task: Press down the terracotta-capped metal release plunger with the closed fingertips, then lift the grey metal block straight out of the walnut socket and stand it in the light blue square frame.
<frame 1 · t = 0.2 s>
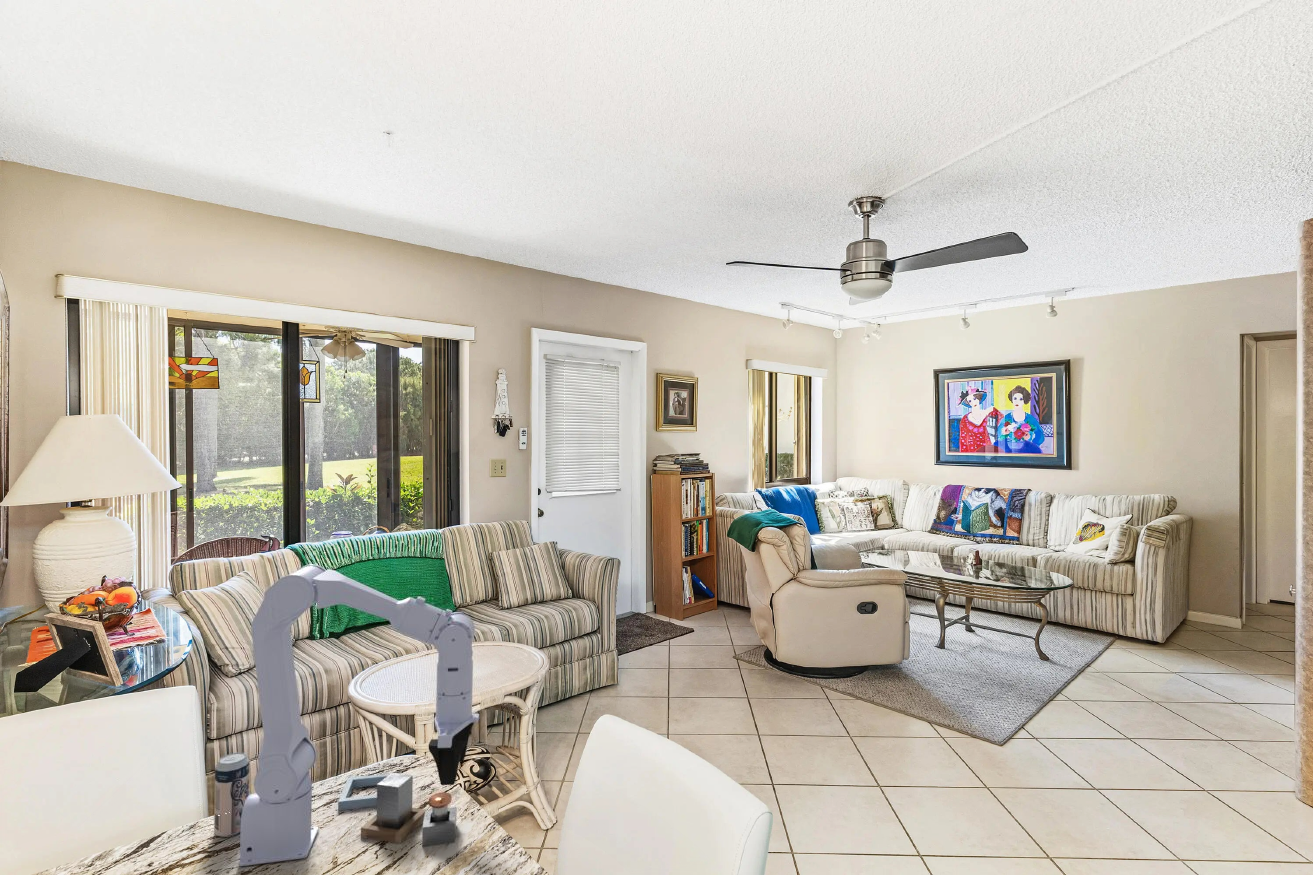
hand: (452, 772, 110), 10 cm above the table, fingers open, 7 cm apart
release plunger: (440, 808, 110), point 4 cm above the table, slide at 0.0 cm
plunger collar: (439, 835, 110), on the table
beer can: (231, 831, 110), on the table
walnut socket: (394, 827, 112), on the table
light blue square frame: (368, 794, 122), on the table
grey metal block: (394, 803, 112), in the walnut socket
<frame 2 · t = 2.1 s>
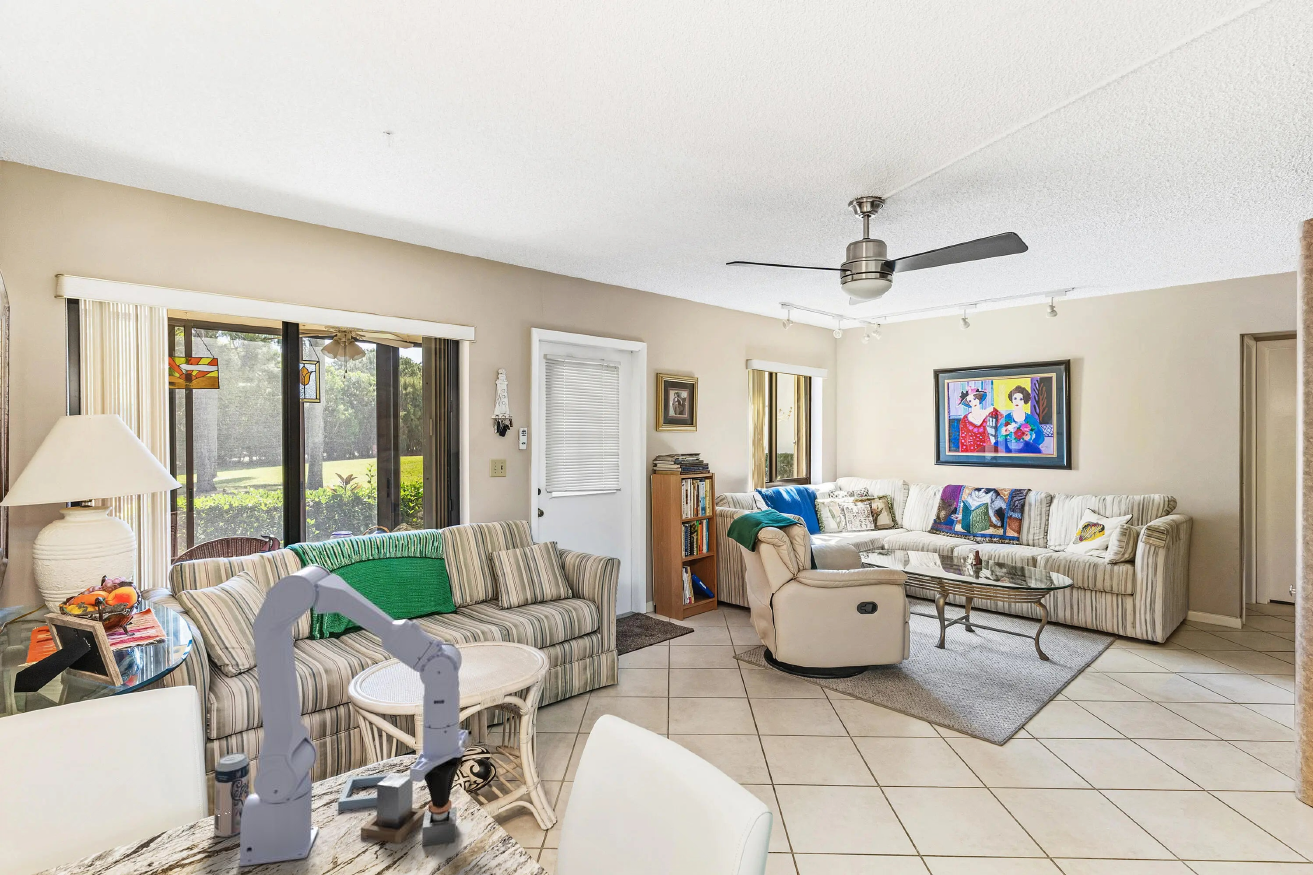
hand: (440, 804, 110), 5 cm above the table, fingers closed, pressing on release plunger
release plunger: (439, 814, 110), point 3 cm above the table, slide at 1.0 cm, touching gripper
everything else where it was.
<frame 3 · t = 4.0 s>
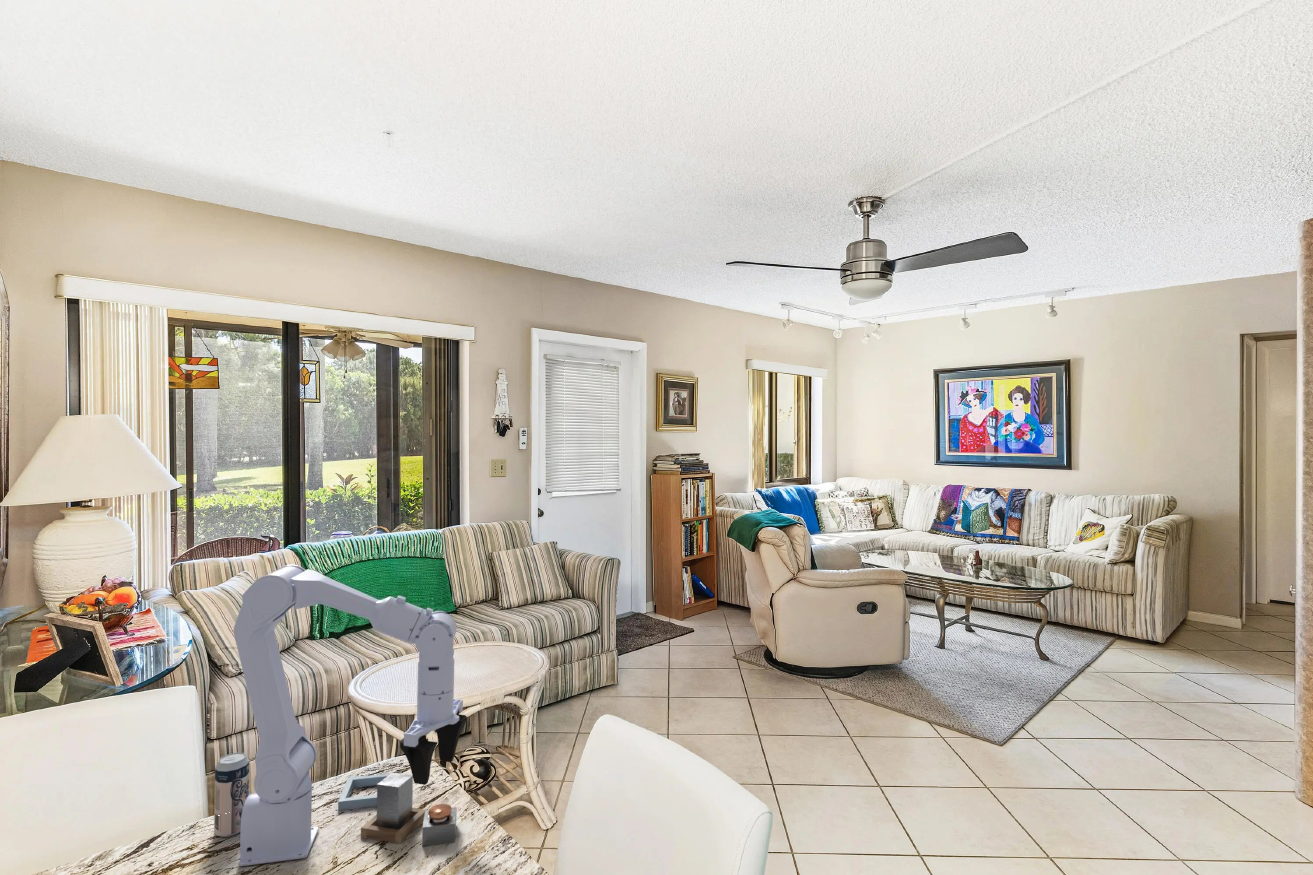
hand: (434, 771, 110), 10 cm above the table, fingers open, 7 cm apart
release plunger: (439, 820, 110), point 2 cm above the table, slide at 1.9 cm
everything else where it was.
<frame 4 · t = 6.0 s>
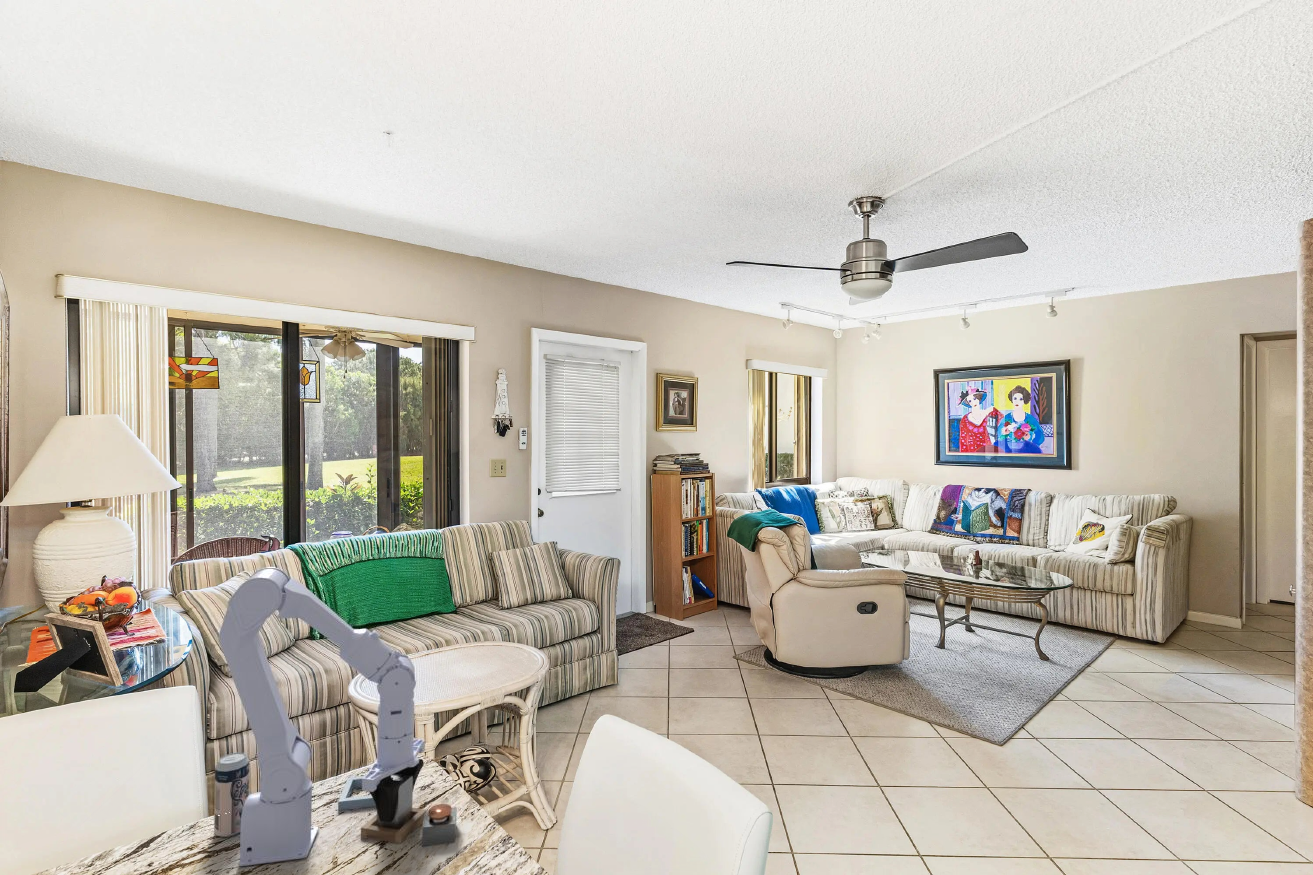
hand: (394, 813, 112), 2 cm above the table, fingers closed on grey metal block, 4 cm apart
grey metal block: (394, 803, 112), in the walnut socket, touching gripper
everything else where it was.
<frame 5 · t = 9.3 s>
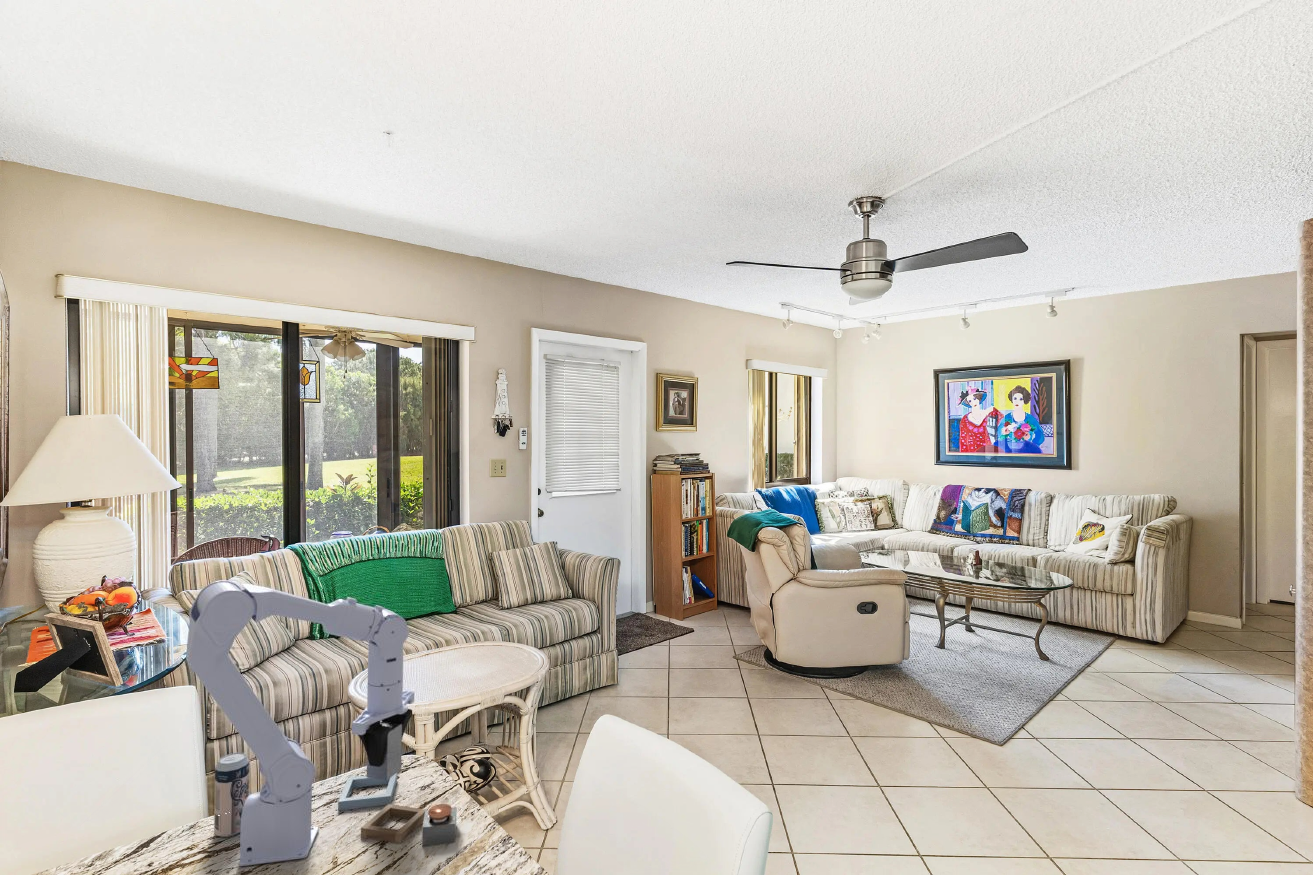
hand: (384, 759, 116), 9 cm above the table, fingers closed on grey metal block, 4 cm apart
grey metal block: (384, 750, 116), point 11 cm above the table, touching gripper
everything else where it was.
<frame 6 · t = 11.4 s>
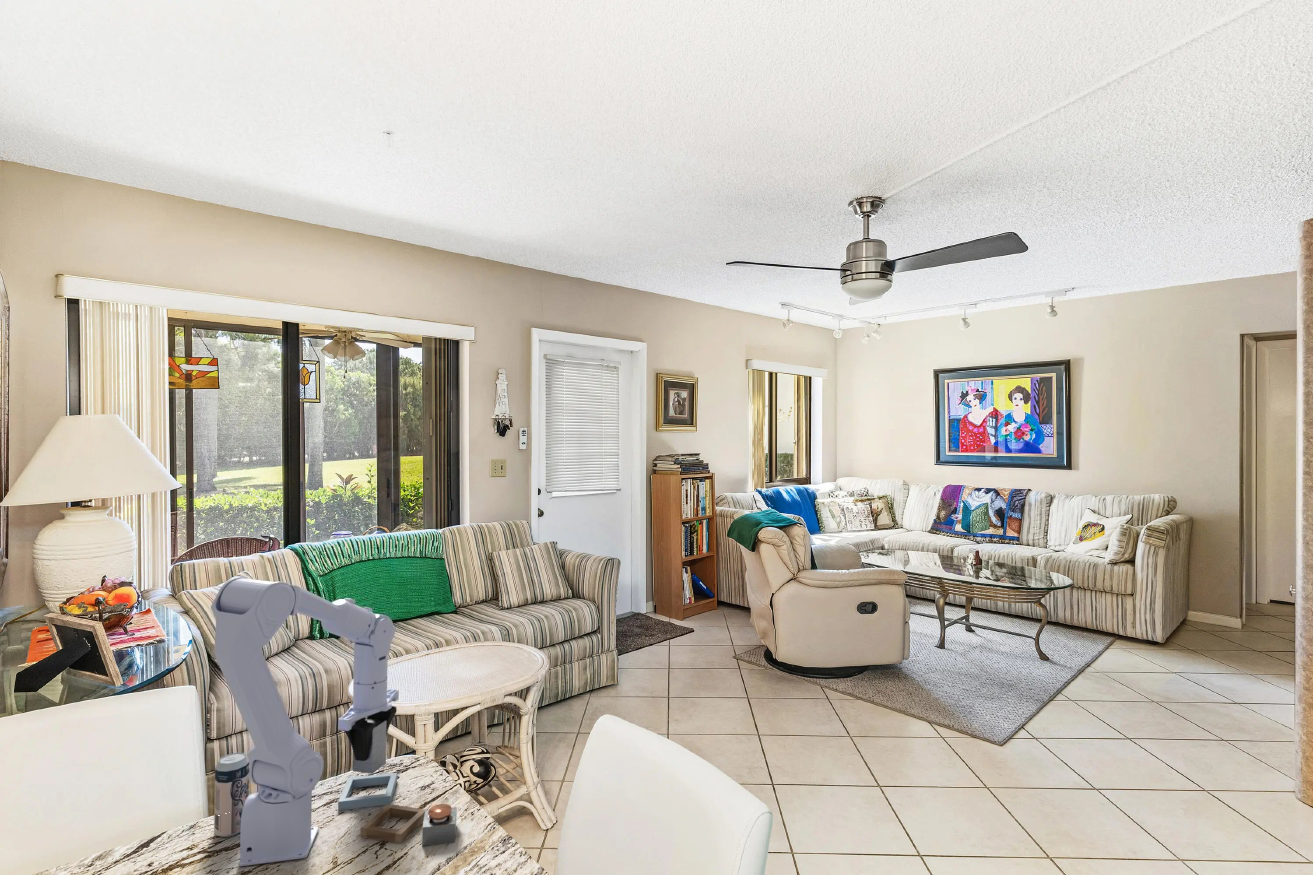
hand: (369, 753, 122), 7 cm above the table, fingers closed on grey metal block, 4 cm apart
grey metal block: (369, 745, 122), point 9 cm above the table, touching gripper
everything else where it was.
when the fingers open (3 cm above the table, at t = 13.0 s): grey metal block drops 1 cm, resting in light blue square frame.
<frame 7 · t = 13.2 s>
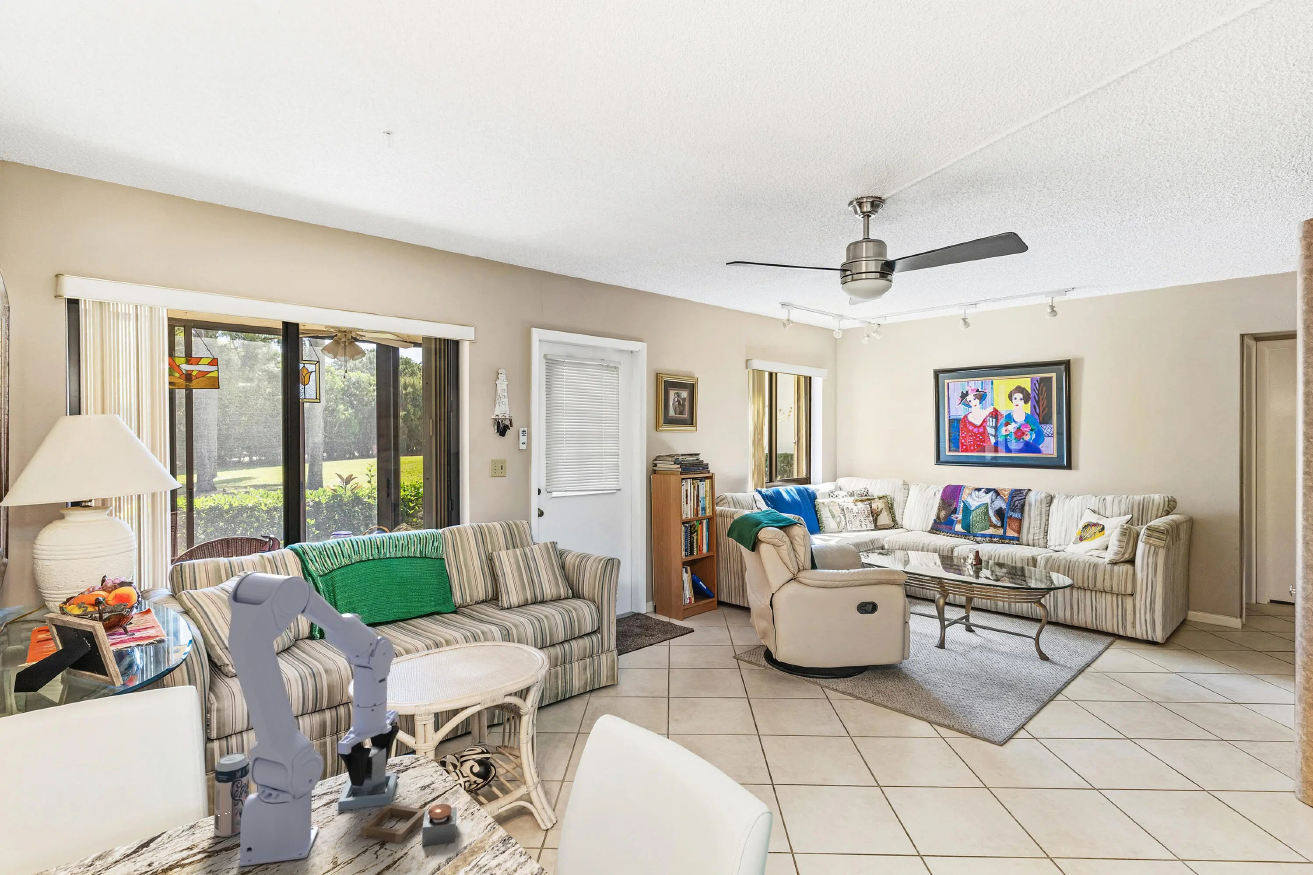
hand: (369, 776, 122), 3 cm above the table, fingers open, 6 cm apart
grey metal block: (369, 773, 122), in the light blue square frame
everything else where it was.
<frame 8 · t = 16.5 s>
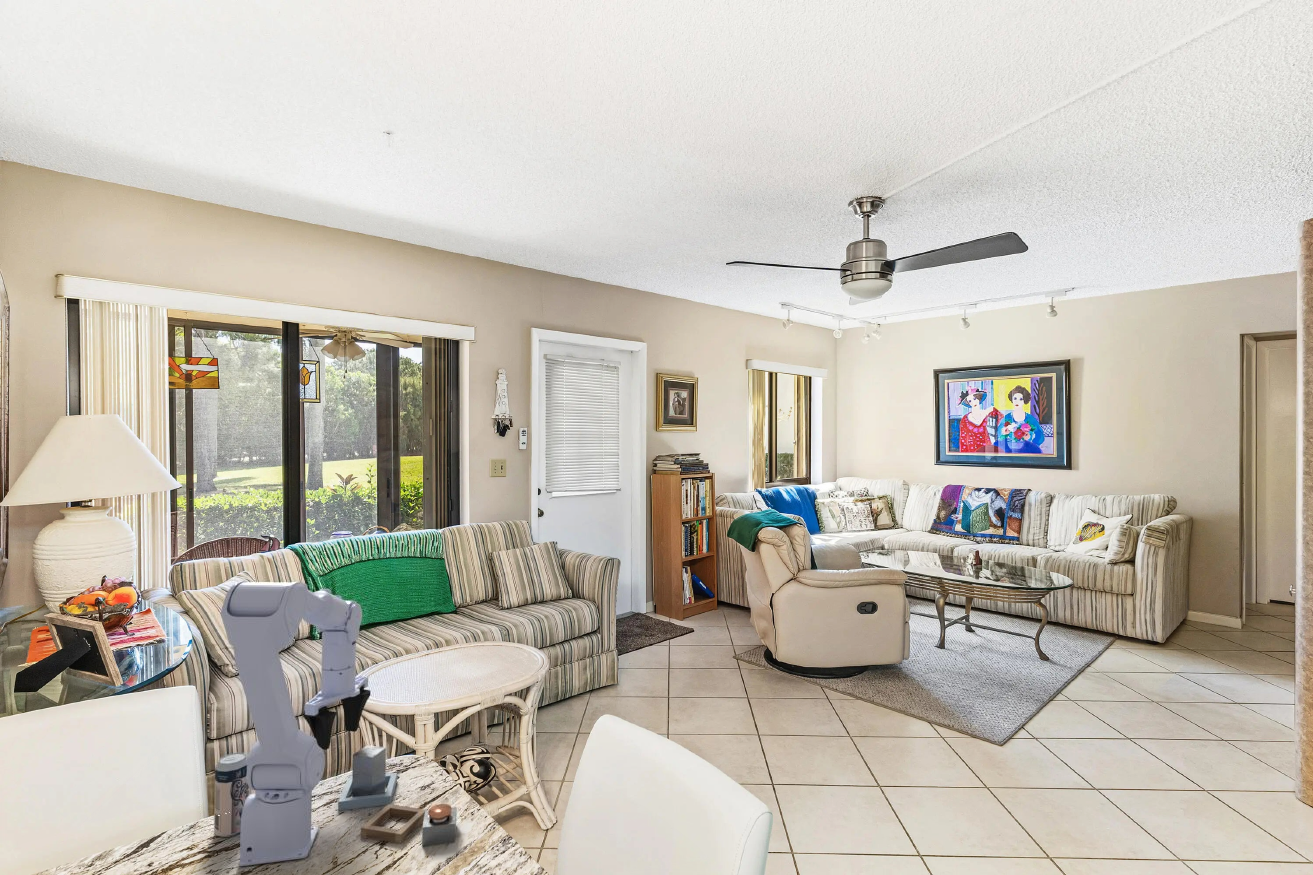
hand: (337, 739, 123), 9 cm above the table, fingers open, 7 cm apart
nothing on the table moved.
at the end: release plunger slide at 1.9 cm; grey metal block 0.0 cm off-centre on the light blue square frame, point 4.0 cm above the light blue square frame's base; grey metal block tilted 0° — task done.
